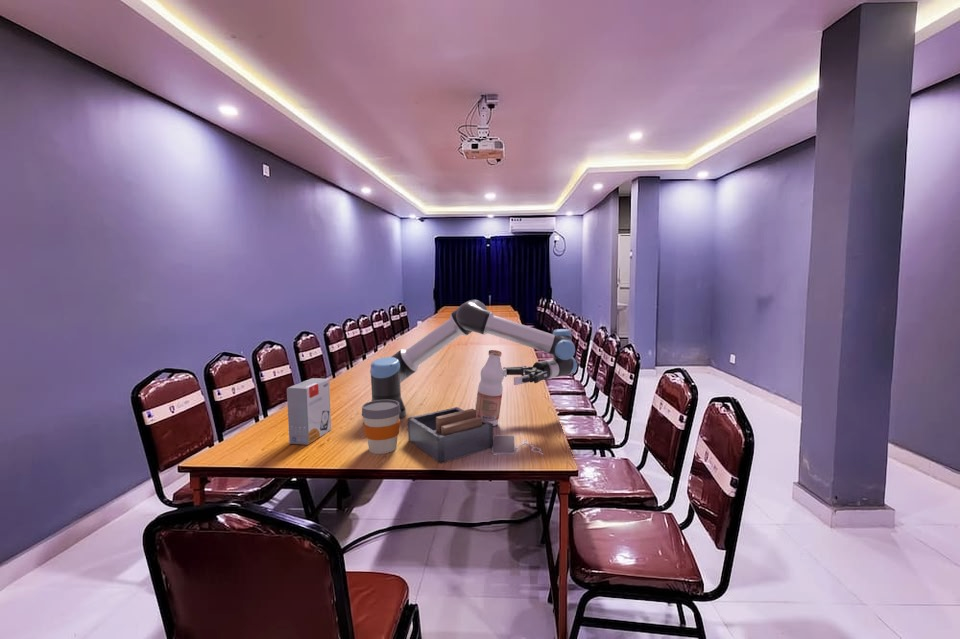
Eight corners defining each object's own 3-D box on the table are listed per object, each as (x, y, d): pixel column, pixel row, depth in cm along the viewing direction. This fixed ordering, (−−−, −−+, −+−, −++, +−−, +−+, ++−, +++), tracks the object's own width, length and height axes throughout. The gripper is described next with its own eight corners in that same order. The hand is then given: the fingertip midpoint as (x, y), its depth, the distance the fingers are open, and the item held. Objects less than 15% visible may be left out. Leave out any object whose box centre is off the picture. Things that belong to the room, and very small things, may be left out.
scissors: (510, 453, 135) (510, 430, 155) (510, 456, 136) (510, 432, 155) (543, 454, 135) (539, 430, 154) (543, 456, 135) (539, 432, 155)
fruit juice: (468, 419, 164) (477, 348, 160) (487, 416, 170) (495, 348, 167) (484, 428, 157) (494, 354, 153) (503, 424, 163) (512, 353, 160)
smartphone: (514, 435, 150) (515, 452, 135) (514, 438, 150) (515, 455, 135) (493, 435, 150) (491, 452, 135) (493, 437, 150) (491, 455, 135)
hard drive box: (308, 445, 146) (305, 388, 144) (288, 444, 147) (284, 388, 145) (332, 429, 161) (329, 377, 159) (314, 428, 162) (310, 377, 160)
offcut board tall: (437, 452, 138) (435, 416, 136) (473, 442, 145) (472, 408, 144) (440, 455, 136) (439, 419, 134) (477, 444, 143) (476, 410, 142)
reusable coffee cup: (359, 446, 144) (357, 403, 143) (395, 438, 150) (393, 397, 149) (369, 459, 133) (366, 413, 132) (407, 450, 139) (405, 406, 138)
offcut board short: (441, 456, 135) (441, 425, 134) (478, 445, 143) (477, 416, 142) (445, 459, 133) (444, 428, 132) (482, 448, 141) (482, 418, 140)
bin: (408, 440, 149) (407, 417, 148) (457, 427, 160) (456, 407, 159) (440, 463, 130) (439, 438, 129) (493, 447, 141) (492, 424, 140)
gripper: (567, 385, 163) (524, 394, 151) (525, 373, 183) (484, 381, 172) (567, 365, 162) (524, 374, 150) (525, 356, 183) (484, 363, 171)
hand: (503, 377), depth 161 cm, fingers open, 13 cm apart
